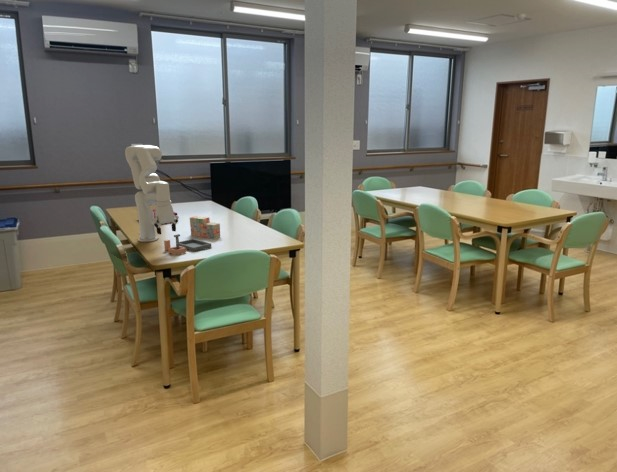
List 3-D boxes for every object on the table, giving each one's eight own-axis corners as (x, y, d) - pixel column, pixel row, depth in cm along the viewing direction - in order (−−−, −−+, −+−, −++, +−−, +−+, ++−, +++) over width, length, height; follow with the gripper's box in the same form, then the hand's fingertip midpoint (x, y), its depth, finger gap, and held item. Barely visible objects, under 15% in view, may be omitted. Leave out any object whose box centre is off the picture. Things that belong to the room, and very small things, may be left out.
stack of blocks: (220, 237, 307) (219, 218, 304) (214, 239, 302) (212, 220, 299) (197, 233, 318) (196, 215, 315) (190, 235, 313) (189, 217, 310)
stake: (175, 253, 269) (173, 235, 266) (180, 252, 271) (178, 234, 269) (176, 254, 268) (175, 235, 265) (181, 252, 270) (180, 234, 268)
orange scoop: (161, 250, 275) (160, 241, 274) (171, 248, 280) (171, 238, 279) (175, 255, 266) (174, 245, 264) (186, 252, 271) (185, 242, 269)
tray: (176, 246, 284) (175, 242, 284) (193, 242, 293) (193, 238, 293) (194, 251, 272) (193, 247, 272) (211, 247, 282) (211, 243, 281)
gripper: (173, 201, 279) (175, 229, 282) (146, 205, 266) (149, 234, 270) (180, 202, 274) (183, 230, 277) (153, 206, 261) (156, 236, 265)
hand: (166, 232), depth 274 cm, fingers open, 9 cm apart
